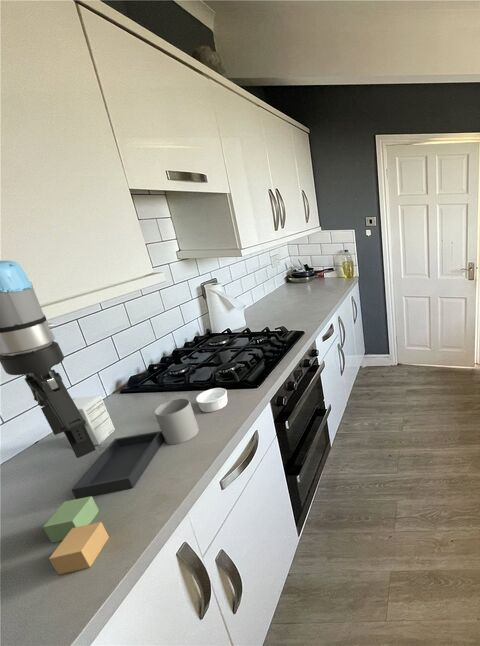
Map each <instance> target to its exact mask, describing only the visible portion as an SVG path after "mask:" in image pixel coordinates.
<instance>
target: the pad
mask: <svg viewBox="0 0 480 646" xmlns="http://www.w3.org/2000/svg"><path fill="white" fill-rule="evenodd" d="M99 512H100V510H99V508H98V505H97V504H96V502H95V500H94V498H93V496H90V497H85V498H80V499H76V498H75V499H70V500H66V501H63V503H62V504H61V505H60V506H59V507H58V508H57V510H56V511H55V512H54V513H53V514H52V516H51V517H50V518H49V520H48V521H47V522H46V523H45V524H44V525H43V526H42V528H43V530H44V532H45V534H46V536H47V537H48V538H49V540H50V542H51V543H57V542H62V541H63V540H64V538H65V537H66V536H67V534H68V533H69V532H70V530H71V529H72V528H76V527H80V526H85V525H89V524H92V521H93V520H94V519H95V518H96V516H97V515H98V514H99Z"/></svg>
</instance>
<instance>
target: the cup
mask: <svg viewBox="0 0 480 646" xmlns="http://www.w3.org/2000/svg"><path fill="white" fill-rule="evenodd" d="M153 413H154V415H155V419H156V422H157V424H158V427H159V429H160V431H161V432H162V434H163V437H164V442H165V443H166V444H167V445H178V444H179V445H180V444H182V443H185V442H187V441H190V440H191V439H192V438H194V437H196V436H197V434H198V433H199V430H200V428H199V424H198V422H197V419H196V416H195V413H194V410H193V407H192V404H191V400H189V399H188V398H176V399H175V398H174V399H171V400H169V401H166V402H164V403H162V404H160V405H159V406H157V407H156V408H155V409H154V412H153Z"/></svg>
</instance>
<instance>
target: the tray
mask: <svg viewBox="0 0 480 646" xmlns="http://www.w3.org/2000/svg"><path fill="white" fill-rule="evenodd" d="M164 442H165V440H164V437H163V434H162V432H161V430H159V431H153V432H148V433H147V432H146V433H141V434H134V435H129V436H123V437H118V438H117V437H116V438H114V439H113V440H112V441H111V443H110V444H109V445H108V446H107V447H106V448H105V449H104V451H103V452H102V453H101V454H100V455H99V456H98V458H97V459H96V460H95V461H94V462H93V463H92V465H91V466H90V467H89V468H88V469H87V470H86V472H85V473H84V474H83V475H82V476H81V477H80V478H79V480H78V481H77V482H76V483H75V484H74V485H73V486H72V488H71V489H70V490H71V492H72V494H73V496H74V498H75V499H80V498H85V497H90V496H92V497H95V496H100V495H105V494H110V493H115V492H120V491H125V490H129V489H133V488H135V486H136V484H137V483H138V481H139V480H140V478H141V477H142V476H143V474H144V472H146V469H147V468H148V466H149V465H150V463H151V462H152V460H153V458H154V457H155V455H156V454H157V452H158V451H159V449H160V448H161V447H162V445H163V443H164Z"/></svg>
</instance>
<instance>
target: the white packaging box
mask: <svg viewBox="0 0 480 646" xmlns="http://www.w3.org/2000/svg"><path fill="white" fill-rule="evenodd" d="M72 400H73V402H74V403H75V405H76V407H77V408H78V410H79V412H80V414H81V415H82V417H83V419H85V421H86V424H84V425H85V428H86V430H87V432H88V434H89V436H90V438H91V440H92V442H93V445H94V446H99V445H101V444H102V443H103V442H104V441H105V440H106V439H107V438H108V437H110V435H111V434H112V433H114V431H116V429H115V426H114V424H113V421H112V419H111V416H110V413H109V411H108V410H107V406H106V405H105V402H104V400H103V397H102V395H90V396H80V397H73V398H72ZM71 422H72V421H71ZM63 434H64V436H65V439H66V441H67V442H68V445H69V447H70V448H71V449H72V447H71V445H70V443H69V441H68V439H67V437H66V435H65V433H64V432H63Z"/></svg>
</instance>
